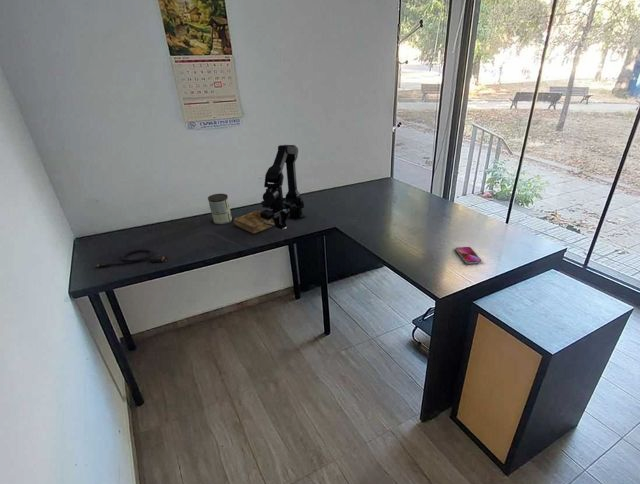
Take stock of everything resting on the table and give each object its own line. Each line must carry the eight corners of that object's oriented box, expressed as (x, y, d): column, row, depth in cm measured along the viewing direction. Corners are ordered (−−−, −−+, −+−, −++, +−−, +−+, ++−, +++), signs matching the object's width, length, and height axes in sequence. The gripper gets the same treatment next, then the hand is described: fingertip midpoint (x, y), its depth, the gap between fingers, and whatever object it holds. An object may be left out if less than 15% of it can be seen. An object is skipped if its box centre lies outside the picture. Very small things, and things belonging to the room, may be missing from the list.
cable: (108, 254, 182) (107, 251, 181) (170, 248, 186) (169, 246, 185) (97, 268, 171) (95, 265, 170) (163, 262, 175) (162, 259, 174)
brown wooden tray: (258, 217, 219) (257, 210, 217) (277, 225, 209) (276, 218, 207) (234, 225, 209) (233, 218, 207) (254, 234, 199) (252, 227, 197)
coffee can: (210, 220, 216) (205, 195, 208) (228, 216, 221) (224, 192, 213) (216, 226, 209) (210, 201, 201) (234, 221, 213) (230, 197, 206)
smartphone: (469, 246, 183) (482, 261, 170) (469, 248, 183) (482, 263, 171) (454, 247, 182) (466, 262, 169) (454, 249, 183) (466, 264, 170)
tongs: (263, 223, 198) (263, 219, 197) (272, 220, 202) (271, 215, 200) (280, 230, 191) (280, 226, 189) (289, 227, 194) (288, 222, 193)
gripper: (281, 188, 196) (284, 216, 205) (250, 198, 184) (255, 228, 193) (295, 193, 190) (298, 222, 198) (265, 203, 178) (269, 234, 187)
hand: (280, 226), depth 194 cm, fingers closed on tongs, 3 cm apart
